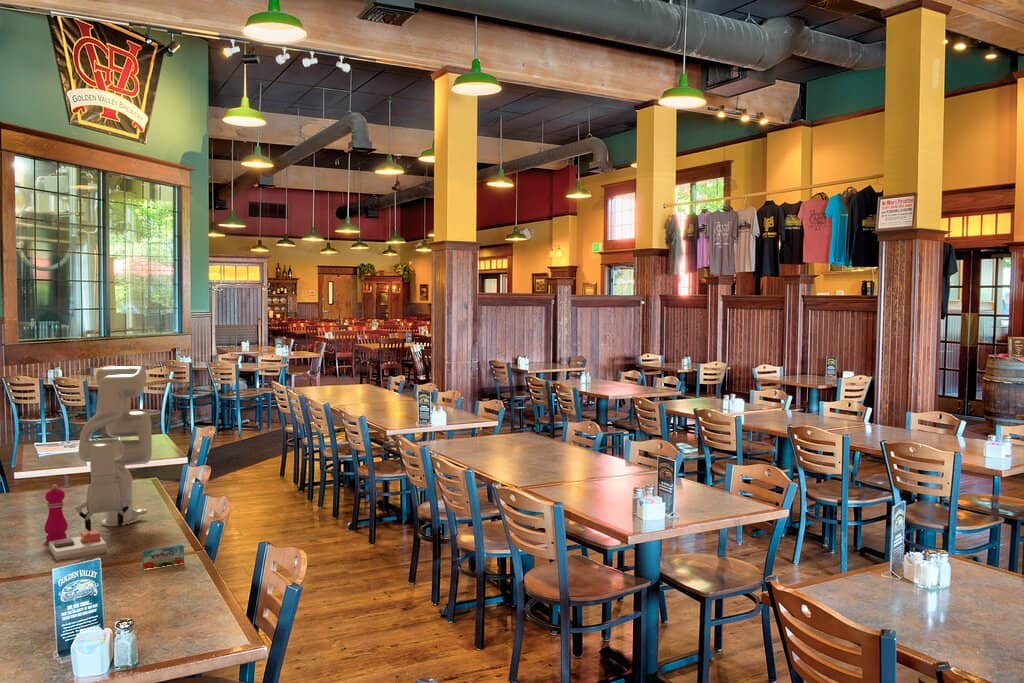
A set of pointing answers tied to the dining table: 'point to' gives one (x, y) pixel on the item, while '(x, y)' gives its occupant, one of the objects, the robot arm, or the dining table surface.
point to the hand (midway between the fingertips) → (104, 528)
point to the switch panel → (78, 548)
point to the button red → (90, 536)
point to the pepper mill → (55, 515)
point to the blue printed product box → (163, 556)
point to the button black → (64, 543)
